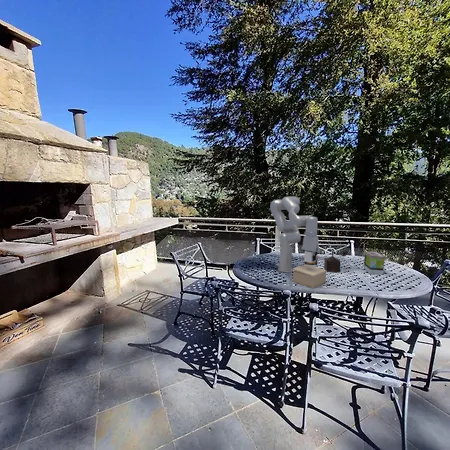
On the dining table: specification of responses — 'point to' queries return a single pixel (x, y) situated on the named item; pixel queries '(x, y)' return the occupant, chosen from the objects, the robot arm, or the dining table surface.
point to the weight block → (308, 256)
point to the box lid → (309, 270)
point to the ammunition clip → (312, 262)
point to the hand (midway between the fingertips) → (310, 259)
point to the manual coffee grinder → (333, 262)
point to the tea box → (374, 262)
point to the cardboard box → (309, 279)
